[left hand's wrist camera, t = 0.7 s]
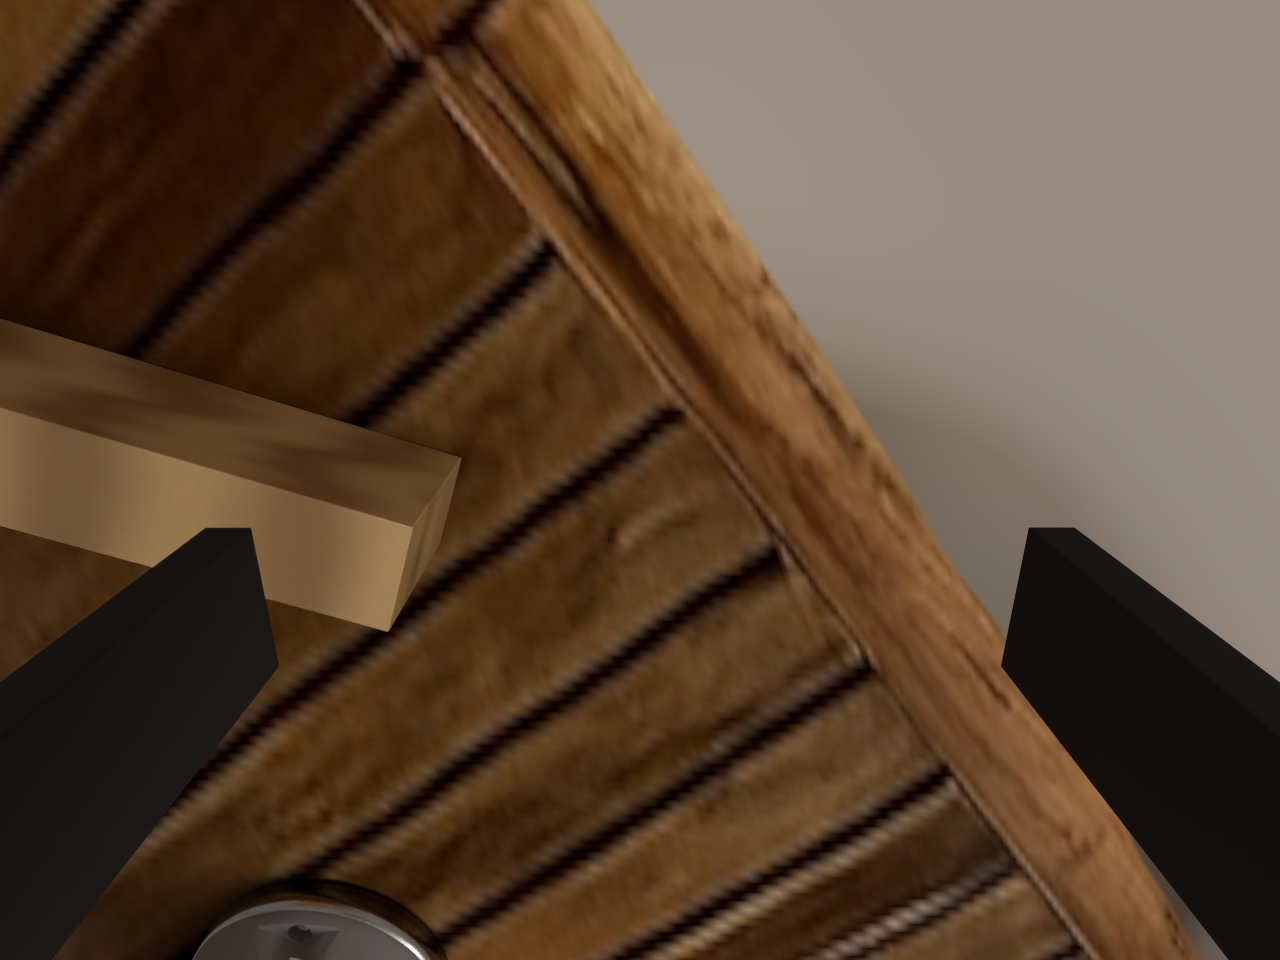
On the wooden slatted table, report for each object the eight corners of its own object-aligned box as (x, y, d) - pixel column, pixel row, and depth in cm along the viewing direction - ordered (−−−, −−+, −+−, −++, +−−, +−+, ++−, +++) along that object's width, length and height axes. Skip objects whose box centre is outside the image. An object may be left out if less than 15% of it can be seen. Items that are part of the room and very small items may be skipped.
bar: (462, 457, 34) (413, 527, 27) (439, 544, 36) (388, 632, 29) (-95, 289, 32) (-315, 316, 25) (-93, 390, 33) (-297, 445, 26)
